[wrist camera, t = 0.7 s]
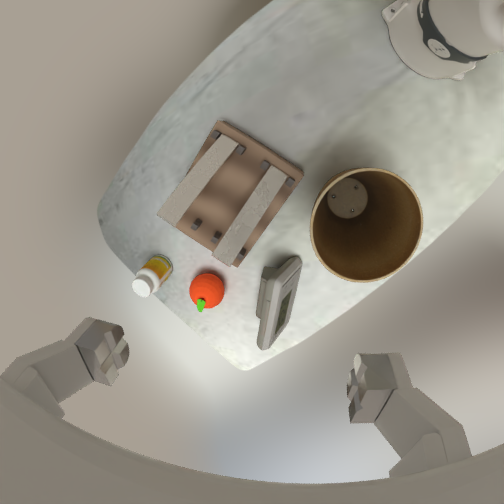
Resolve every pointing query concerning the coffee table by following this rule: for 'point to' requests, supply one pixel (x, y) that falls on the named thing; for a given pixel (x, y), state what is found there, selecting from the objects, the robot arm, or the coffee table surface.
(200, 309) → the clementine
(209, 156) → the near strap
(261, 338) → the digital clock
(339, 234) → the plant pot
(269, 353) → the coffee table surface
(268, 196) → the strap
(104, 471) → the robot arm
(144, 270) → the supplement bottle
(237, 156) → the strap base
